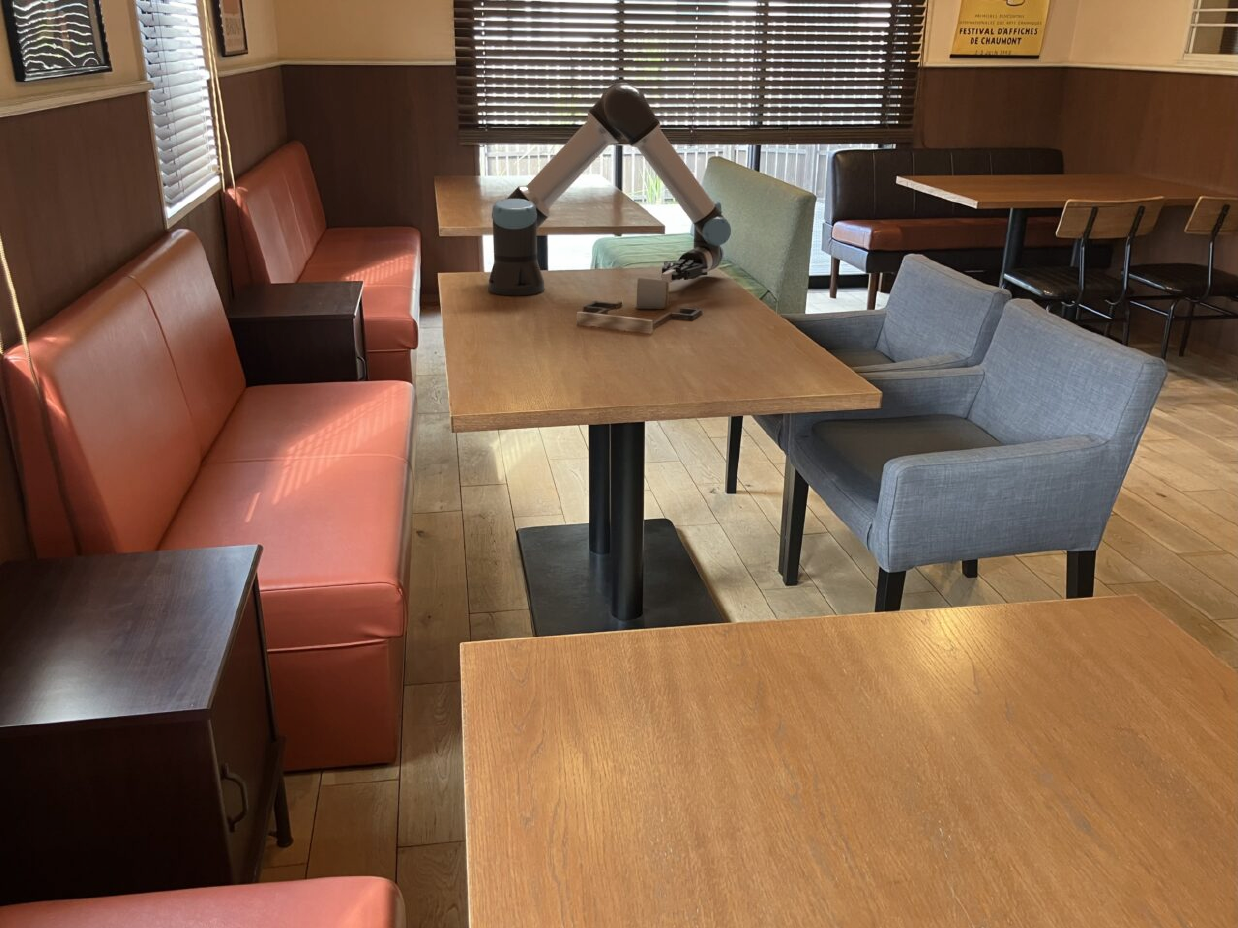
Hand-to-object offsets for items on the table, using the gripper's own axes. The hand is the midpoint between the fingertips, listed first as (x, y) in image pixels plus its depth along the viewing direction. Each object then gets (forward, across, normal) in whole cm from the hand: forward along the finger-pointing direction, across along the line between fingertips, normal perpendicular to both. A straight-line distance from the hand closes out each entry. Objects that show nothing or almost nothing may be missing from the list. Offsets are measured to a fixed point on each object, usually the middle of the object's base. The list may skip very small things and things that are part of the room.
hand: (664, 279), depth 266 cm
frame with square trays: (+20, 0, -6) cm, 21 cm away
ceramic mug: (+7, +1, -6) cm, 9 cm away
